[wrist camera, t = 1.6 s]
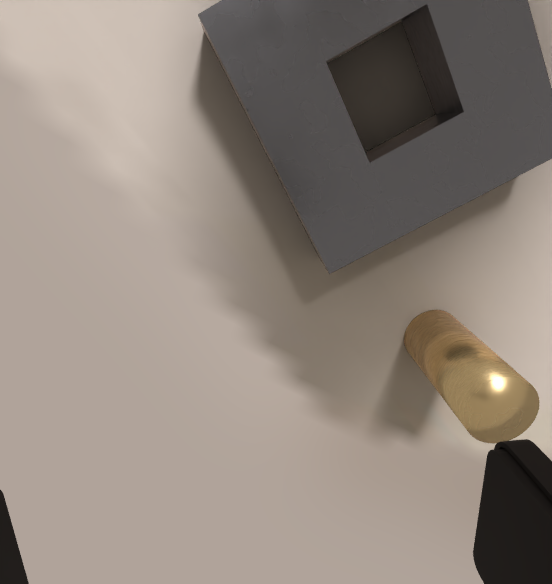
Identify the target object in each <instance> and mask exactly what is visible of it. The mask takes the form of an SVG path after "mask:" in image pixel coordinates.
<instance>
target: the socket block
mask: <svg viewBox="0 0 552 584" xmlns="http://www.w3.org/2000/svg"><path fill="white" fill-rule="evenodd" d="M198 16H199V19H200V22H201V24H202V27H203V30H204V32H205V34H206V36H207V38H208V40H209V42H210V44H211V46H212V48H213V50H214V52H215V54H216V56H217V58H218V60H219V62H220V64H221V66H222V68H223V70H224V71H225V73H226V75H227V77H228V79H229V81H230V83H231V85H232V87H233V89H234V91H235V93H236V95H237V97H238V99H239V101H240V103H241V105H242V107H243V109H244V111H245V113H246V115H247V117H248V119H249V121H250V122H251V124H252V126H253V128H254V130H255V132H256V134H257V136H258V138H259V140H260V142H261V144H262V146H263V148H264V150H265V152H266V154H267V156H268V158H269V160H270V162H271V164H272V166H273V168H274V170H275V172H276V174H277V175H278V177H279V179H280V181H281V183H282V185H283V187H284V189H285V191H286V193H287V195H288V197H289V199H290V201H291V203H292V205H293V207H294V209H295V211H296V213H297V215H298V217H299V219H300V221H301V223H302V225H303V227H304V228H305V230H306V232H307V234H308V236H309V238H310V240H311V242H312V244H313V246H314V248H315V250H316V252H317V254H318V256H319V258H320V259H321V261H322V263H323V264H324V266H325V267H326V269H327V271H328V272H329V274H330V273H332V272H334V271H336V270H338V269H340V268H342V267H344V266H346V265H347V264H349V263H351V262H353V261H355V260H357V259H359V258H361V257H363V256H365V255H367V254H369V253H371V252H373V251H374V250H376V249H378V248H380V247H382V246H384V245H386V244H388V243H390V242H392V241H394V240H396V239H398V238H400V237H401V236H403V235H405V234H407V233H409V232H411V231H413V230H415V229H417V228H419V227H421V226H423V225H425V224H426V223H428V222H430V221H432V220H434V219H436V218H438V217H440V216H442V215H444V214H446V213H448V212H450V211H452V210H453V209H455V208H457V207H459V206H461V205H463V204H465V203H467V202H469V201H471V200H473V199H475V198H477V197H479V196H480V195H482V194H484V193H486V192H488V191H490V190H492V189H494V188H496V187H498V186H500V185H502V184H504V183H506V182H507V181H509V180H511V179H513V178H515V177H517V176H519V175H521V174H523V173H525V172H527V171H529V170H531V169H532V168H534V167H536V166H538V165H540V164H542V163H544V162H546V161H548V160H550V159H552V88H551V85H550V81H549V77H548V74H547V70H546V66H545V63H544V59H543V55H542V52H541V48H540V44H539V41H538V37H537V33H536V30H535V26H534V22H533V18H532V15H531V11H530V7H529V4H528V0H222V1H220V2H218V3H217V4H215V5H213V6H211V7H210V8H208V9H206V10H205V11H203V12H201V13H200V14H198ZM401 21H402V24H403V26H404V29H405V32H406V35H407V37H408V40H409V43H410V46H411V48H412V51H413V54H414V57H415V59H416V62H417V65H418V67H419V70H420V73H421V76H422V78H423V81H424V84H425V87H426V89H427V92H428V95H429V98H430V100H431V103H432V106H433V109H434V111H435V114H436V115H434V116H432V117H430V118H428V119H426V120H425V121H423V122H421V123H419V124H417V125H415V126H413V127H412V128H410V129H408V130H406V131H404V132H402V133H401V134H399V135H397V136H395V137H393V138H391V139H390V140H388V141H386V142H384V143H382V144H380V145H378V146H377V147H375V148H373V149H371V150H369V151H367V152H366V153H365V151H364V149H363V146H362V144H361V142H360V139H359V137H358V135H357V132H356V130H355V128H354V125H353V123H352V121H351V118H350V116H349V114H348V112H347V109H346V107H345V105H344V102H343V100H342V98H341V95H340V93H339V91H338V88H337V86H336V84H335V81H334V79H333V77H332V74H331V72H330V70H329V67H328V65H327V63H329V62H331V61H333V60H334V59H336V58H338V57H340V56H341V55H343V54H345V53H347V52H348V51H350V50H352V49H354V48H356V47H357V46H359V45H361V44H363V43H364V42H366V41H368V40H370V39H371V38H373V37H375V36H377V35H378V34H380V33H382V32H384V31H385V30H387V29H389V28H391V27H393V26H394V25H396V24H398V23H400V22H401Z"/></svg>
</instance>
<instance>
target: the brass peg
mask: <svg viewBox="0 0 552 584" xmlns="http://www.w3.org/2000/svg"><path fill="white" fill-rule="evenodd" d="M404 343H405V347H406V349H407V351H408V353H409V354H410V355H411V357H412V358H413V359H414V361H415V362H416V363H417V364H418V366H419V367H420V368H421V370H422V371H423V372H424V374H425V375H426V376H427V378H428V379H429V380H430V382H431V383H432V384H433V386H434V387H435V388H436V390H437V391H438V392H439V394H440V395H441V396H442V398H443V399H444V400H445V402H446V403H447V404H448V406H449V407H450V408H451V410H452V411H453V412H454V414H455V415H456V416H457V417H458V419H459V420H460V421H461V423H462V424H463V425H464V427H465V428H466V429H467V431H468V432H469V433H470V434H471V435H472V436H473V437H474V438H476V439H477V440H479V441H482V442H486V443H498V442H501V441H509V440H511V439H513V438H515V437H517V436H519V435H520V434H522V433H523V432H524V431H526V430H527V429H528V428H529V426H530V425H531V424H532V423H533V421H534V420H535V418H536V416H537V413H538V410H539V397H538V394H537V392H536V390H535V388H534V387H533V386H532V385H531V384H530V383H529V382H528V381H526V380H525V379H524V378H523V377H522V376H521V375H520V374H518V373H517V372H516V371H515V370H514V369H513V368H512V367H510V366H509V365H508V364H507V363H506V362H505V361H504V360H502V359H501V358H500V357H499V356H498V355H497V354H496V353H494V352H493V351H492V350H491V349H490V348H489V347H488V346H486V345H485V344H484V343H483V342H482V341H481V340H480V339H478V338H477V337H476V336H475V335H474V334H473V333H472V332H470V331H469V330H468V329H467V328H466V327H465V326H464V325H462V324H461V323H460V322H459V321H458V320H457V319H456V318H454V317H453V316H452V315H451V314H449V313H447V312H445V311H441V310H431V311H427V312H424V313H422V314H420V315H418V316H417V317H416V318H414V319H413V320H412V321H411V323H410V324H409V325H408V327H407V329H406V332H405V336H404Z"/></svg>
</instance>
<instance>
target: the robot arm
mask: <svg viewBox="0 0 552 584" xmlns="http://www.w3.org/2000/svg"><path fill="white" fill-rule="evenodd" d="M473 556H474V562H475V565H476V568H477V571H478V573H479V575H480V577H481V579H482V580H483V582H484V584H552V461H551V460H550V459H549V458H548V457H547V456H546V455H545V454H544V453H543V452H542V451H541V450H540V449H539V448H538V447H537V446H536V445H535V444H534V443H533V442H532V441H530V440H527V439H526V440H513V441H501V442H498V443H497V444H496V445H495V448H494V450H490V451H489V452H488V455H487V461H486V468H485V475H484V482H483V488H482V495H481V502H480V509H479V516H478V522H477V529H476V536H475V543H474V550H473ZM0 584H28V580H27V576H26V573H25V569H24V566H23V562H22V558H21V555H20V551H19V548H18V544H17V541H16V538H15V534H14V530H13V526H12V523H11V519H10V516H9V512H8V509H7V505H6V502H5V498H4V495H3V493H2V491H1V490H0Z"/></svg>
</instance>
